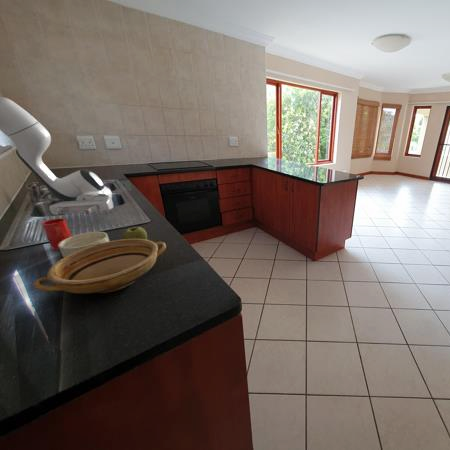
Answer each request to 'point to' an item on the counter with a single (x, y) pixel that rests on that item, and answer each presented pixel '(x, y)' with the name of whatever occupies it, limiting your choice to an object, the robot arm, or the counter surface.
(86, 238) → the serving bowl
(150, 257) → the wicker basket
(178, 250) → the counter surface
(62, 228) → the fries cup
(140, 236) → the apple
